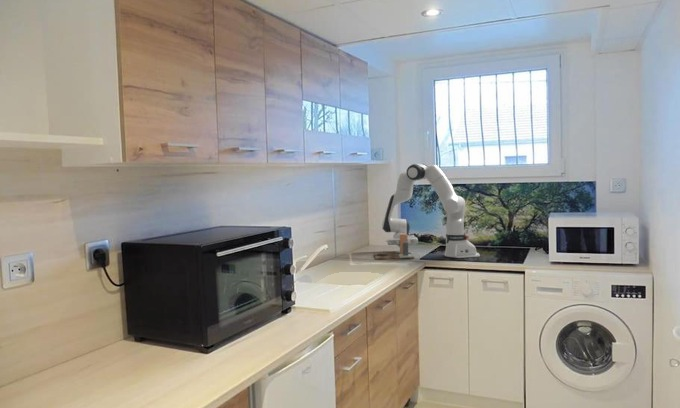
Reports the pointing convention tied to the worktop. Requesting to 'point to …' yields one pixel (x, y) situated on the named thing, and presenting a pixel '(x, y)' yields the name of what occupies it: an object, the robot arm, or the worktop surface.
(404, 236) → the block
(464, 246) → the robot arm
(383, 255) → the board
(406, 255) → the grey upright piece
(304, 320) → the worktop surface
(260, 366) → the worktop surface
